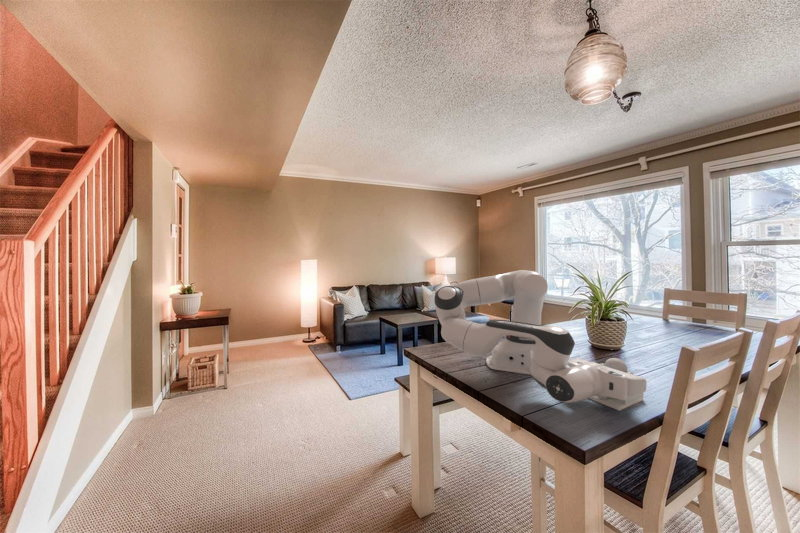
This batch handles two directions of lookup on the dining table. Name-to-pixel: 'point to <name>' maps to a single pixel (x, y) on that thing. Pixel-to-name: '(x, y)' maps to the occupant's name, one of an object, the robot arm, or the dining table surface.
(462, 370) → the dining table surface
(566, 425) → the dining table surface
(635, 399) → the housing base
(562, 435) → the dining table surface
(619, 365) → the light bulb
